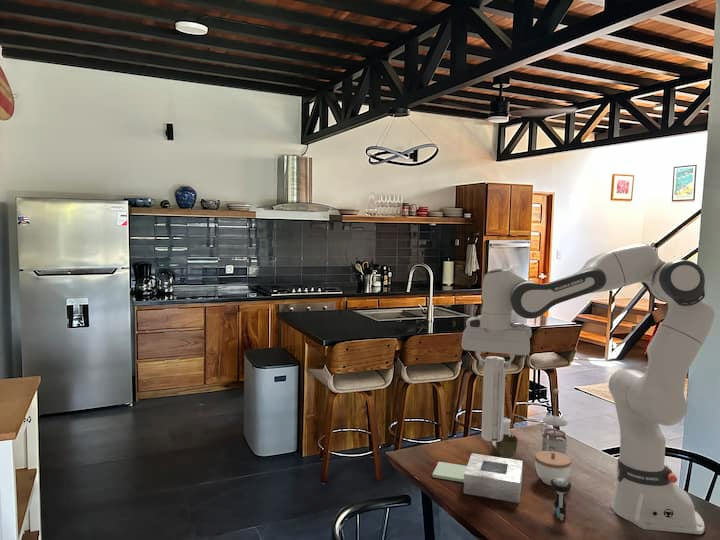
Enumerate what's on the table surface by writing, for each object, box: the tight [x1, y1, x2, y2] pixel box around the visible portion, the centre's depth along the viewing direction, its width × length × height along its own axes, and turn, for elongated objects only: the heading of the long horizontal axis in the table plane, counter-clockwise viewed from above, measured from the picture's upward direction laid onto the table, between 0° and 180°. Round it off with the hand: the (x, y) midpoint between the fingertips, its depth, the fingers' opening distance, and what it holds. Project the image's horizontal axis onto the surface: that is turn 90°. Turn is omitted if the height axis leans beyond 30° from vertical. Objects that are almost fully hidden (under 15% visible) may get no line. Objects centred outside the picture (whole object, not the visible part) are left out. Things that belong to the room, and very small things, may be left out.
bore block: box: [463, 452, 524, 504], centre depth 162 cm, size 16×16×6 cm
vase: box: [492, 417, 512, 448], centre depth 193 cm, size 8×8×10 cm
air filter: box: [481, 355, 507, 443], centre depth 161 cm, size 6×6×25 cm
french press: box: [540, 388, 569, 455], centre depth 182 cm, size 10×12×25 cm
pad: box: [431, 461, 467, 483], centre depth 171 cm, size 10×10×1 cm
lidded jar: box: [534, 450, 572, 486], centre depth 166 cm, size 11×11×9 cm
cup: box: [495, 434, 519, 459], centre depth 181 cm, size 8×7×8 cm
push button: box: [550, 477, 572, 521], centre depth 146 cm, size 7×5×10 cm
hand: (494, 366), depth 161 cm, fingers closed on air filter, 6 cm apart
